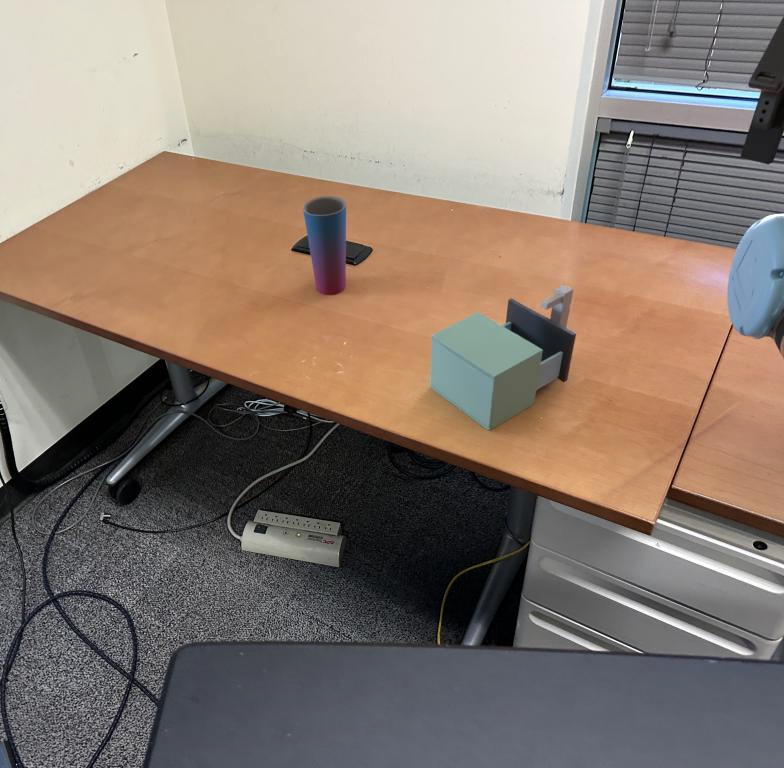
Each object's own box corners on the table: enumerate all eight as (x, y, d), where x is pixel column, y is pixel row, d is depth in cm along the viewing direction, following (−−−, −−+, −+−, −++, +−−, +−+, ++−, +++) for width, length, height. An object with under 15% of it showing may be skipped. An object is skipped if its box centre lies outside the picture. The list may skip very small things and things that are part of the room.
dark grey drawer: (527, 332, 100) (536, 271, 93) (589, 367, 92) (603, 304, 86) (465, 365, 96) (469, 304, 89) (524, 405, 88) (534, 341, 82)
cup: (354, 277, 119) (350, 196, 109) (346, 298, 114) (340, 216, 104) (316, 275, 121) (309, 195, 111) (306, 296, 116) (297, 215, 106)
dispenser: (473, 364, 97) (477, 311, 91) (534, 404, 89) (543, 349, 84) (430, 387, 94) (431, 334, 89) (488, 431, 87) (494, 376, 81)
